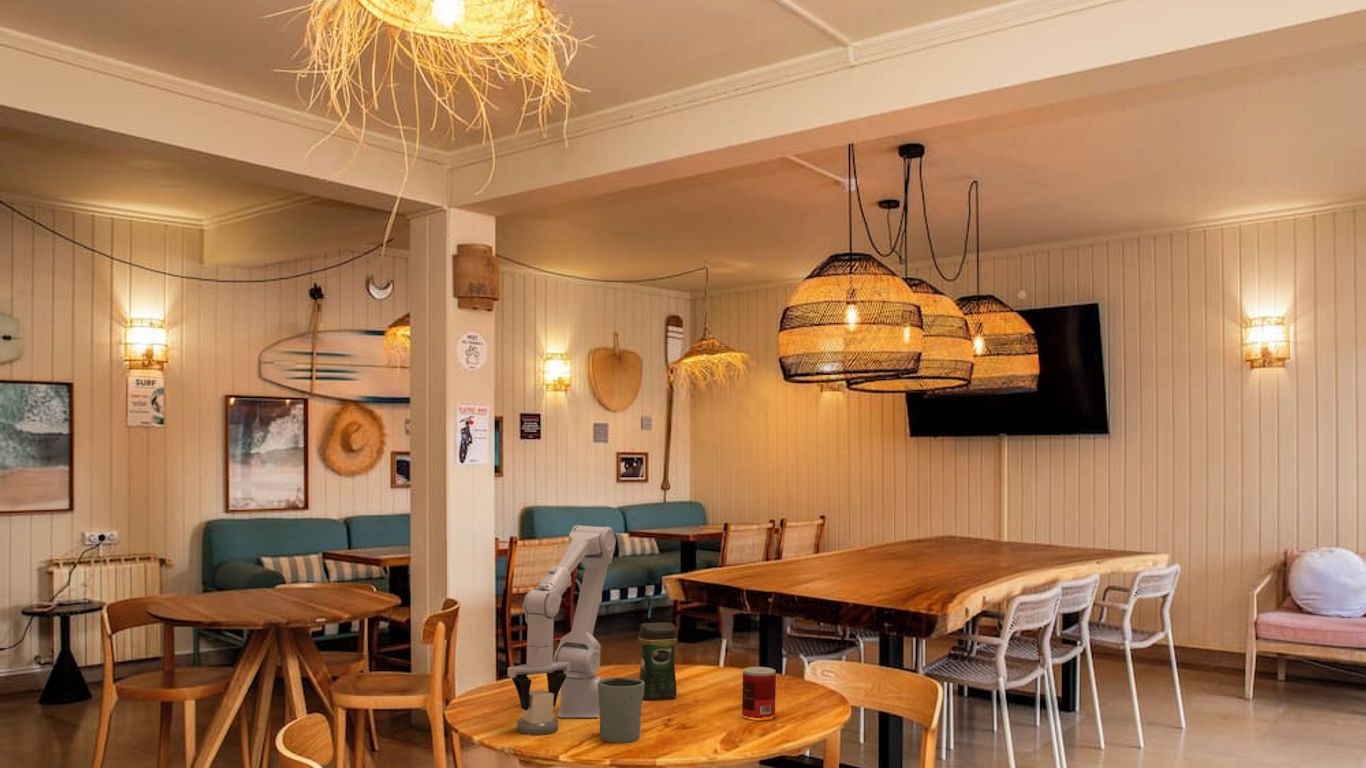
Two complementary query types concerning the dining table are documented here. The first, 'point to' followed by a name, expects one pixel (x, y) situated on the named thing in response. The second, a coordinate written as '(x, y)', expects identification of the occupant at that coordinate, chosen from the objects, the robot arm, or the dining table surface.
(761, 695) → the canned food
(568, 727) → the dining table surface
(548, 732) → the slate trivet
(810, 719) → the dining table surface
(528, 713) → the cream block
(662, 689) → the coffee jar
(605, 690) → the green cup
